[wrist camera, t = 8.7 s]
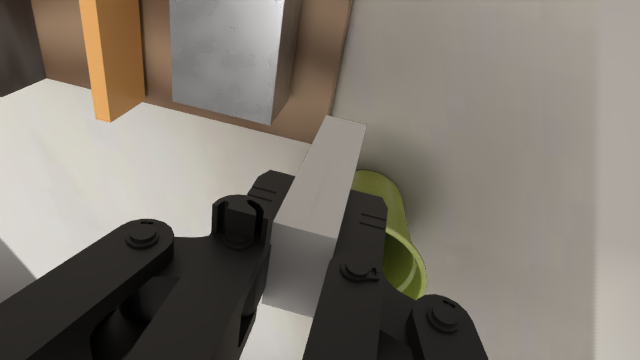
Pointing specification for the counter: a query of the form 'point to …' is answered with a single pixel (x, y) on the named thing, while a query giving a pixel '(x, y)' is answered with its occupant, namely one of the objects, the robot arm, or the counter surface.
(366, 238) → the robot arm
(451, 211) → the counter surface
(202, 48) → the grey foam block
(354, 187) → the plant pot
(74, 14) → the gauge board
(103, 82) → the upright wooden plank
